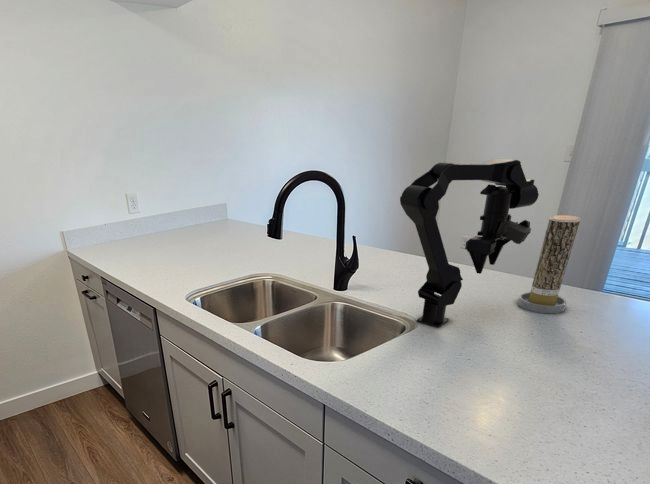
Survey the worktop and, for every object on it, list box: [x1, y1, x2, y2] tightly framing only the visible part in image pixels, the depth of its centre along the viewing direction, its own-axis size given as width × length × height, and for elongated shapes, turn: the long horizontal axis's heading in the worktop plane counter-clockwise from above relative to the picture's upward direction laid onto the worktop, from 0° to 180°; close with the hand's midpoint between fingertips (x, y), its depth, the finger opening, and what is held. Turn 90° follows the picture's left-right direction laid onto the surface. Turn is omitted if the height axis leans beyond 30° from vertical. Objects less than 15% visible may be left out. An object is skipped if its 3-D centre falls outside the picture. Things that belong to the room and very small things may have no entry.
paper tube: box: [528, 214, 581, 306], centre depth 121 cm, size 7×7×25 cm
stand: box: [517, 291, 567, 314], centre depth 127 cm, size 12×12×2 cm
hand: (485, 268), depth 121 cm, fingers open, 9 cm apart
